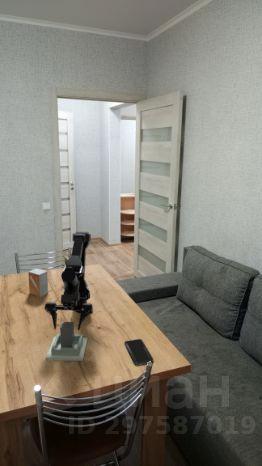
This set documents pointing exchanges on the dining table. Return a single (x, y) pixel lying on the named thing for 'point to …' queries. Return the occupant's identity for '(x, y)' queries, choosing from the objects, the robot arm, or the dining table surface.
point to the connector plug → (67, 335)
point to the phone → (138, 351)
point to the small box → (38, 282)
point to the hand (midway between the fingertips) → (66, 329)
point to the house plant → (66, 260)
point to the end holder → (67, 349)
